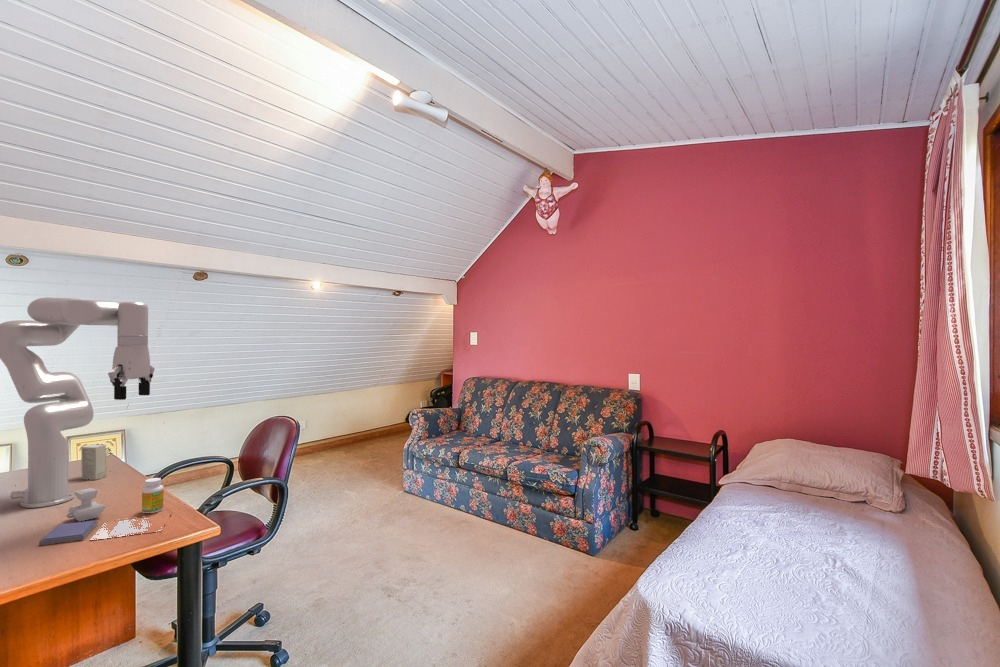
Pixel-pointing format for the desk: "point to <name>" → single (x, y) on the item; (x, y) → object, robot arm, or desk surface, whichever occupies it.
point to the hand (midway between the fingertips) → (132, 397)
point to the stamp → (86, 506)
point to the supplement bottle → (152, 496)
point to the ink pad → (69, 532)
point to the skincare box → (93, 461)
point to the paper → (121, 529)
